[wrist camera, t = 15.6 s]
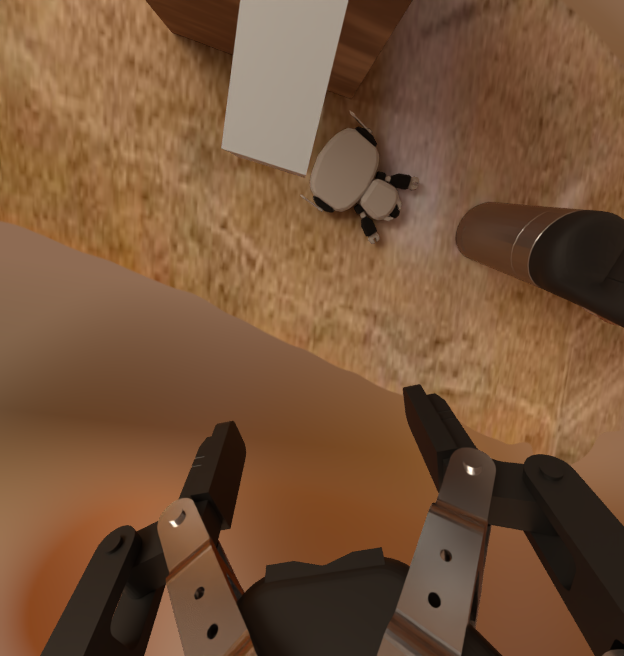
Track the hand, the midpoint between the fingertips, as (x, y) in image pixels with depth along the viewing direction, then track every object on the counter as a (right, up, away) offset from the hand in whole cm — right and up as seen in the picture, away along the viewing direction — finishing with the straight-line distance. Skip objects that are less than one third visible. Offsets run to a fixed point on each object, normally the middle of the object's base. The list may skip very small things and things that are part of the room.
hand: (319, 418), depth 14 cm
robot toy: (+7, +26, +32) cm, 42 cm away
